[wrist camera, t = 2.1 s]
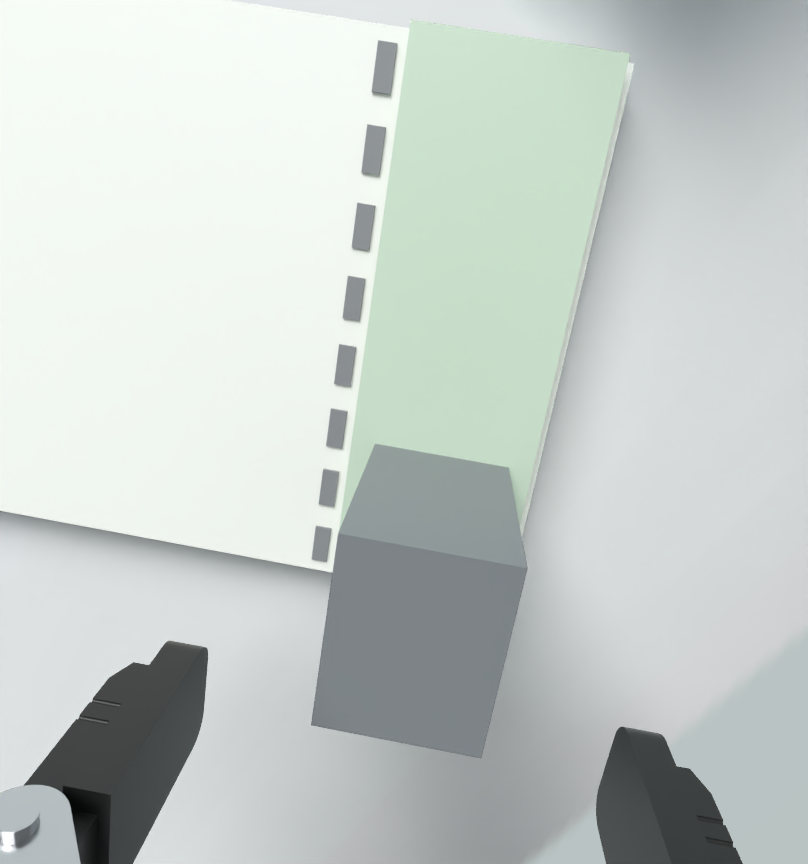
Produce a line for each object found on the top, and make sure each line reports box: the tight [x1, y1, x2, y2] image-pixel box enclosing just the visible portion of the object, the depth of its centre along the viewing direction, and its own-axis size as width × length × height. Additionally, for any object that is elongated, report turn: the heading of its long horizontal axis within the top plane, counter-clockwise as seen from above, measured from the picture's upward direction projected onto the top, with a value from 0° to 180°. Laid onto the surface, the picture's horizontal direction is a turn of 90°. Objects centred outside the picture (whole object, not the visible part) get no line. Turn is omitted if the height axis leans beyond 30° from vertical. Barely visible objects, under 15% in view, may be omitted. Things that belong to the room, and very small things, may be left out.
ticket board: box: [0, 0, 635, 573], centre depth 20 cm, size 16×24×2 cm, turn 81°
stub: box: [311, 20, 630, 758], centre depth 16 cm, size 16×5×7 cm, turn 171°
